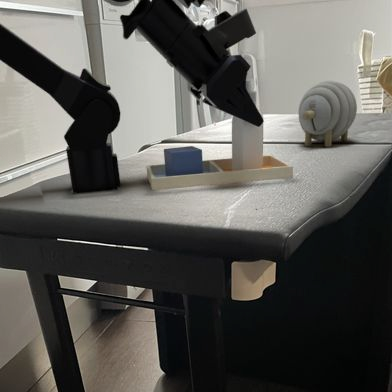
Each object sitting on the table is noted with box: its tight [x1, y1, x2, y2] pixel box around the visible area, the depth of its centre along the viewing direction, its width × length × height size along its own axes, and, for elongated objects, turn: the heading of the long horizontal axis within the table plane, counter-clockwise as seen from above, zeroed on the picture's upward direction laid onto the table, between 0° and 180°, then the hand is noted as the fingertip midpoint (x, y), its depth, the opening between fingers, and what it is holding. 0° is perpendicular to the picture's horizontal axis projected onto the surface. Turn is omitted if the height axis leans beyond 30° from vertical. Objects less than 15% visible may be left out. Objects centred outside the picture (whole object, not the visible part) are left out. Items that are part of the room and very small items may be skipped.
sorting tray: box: [145, 154, 294, 191], centre depth 81 cm, size 20×11×2 cm, turn 99°
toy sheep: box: [298, 80, 358, 148], centre depth 104 cm, size 11×17×11 cm, turn 148°
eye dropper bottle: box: [231, 80, 264, 171], centre depth 79 cm, size 4×6×12 cm
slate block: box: [163, 145, 204, 177], centre depth 79 cm, size 4×4×4 cm
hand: (257, 122), depth 79 cm, fingers closed on eye dropper bottle, 5 cm apart
